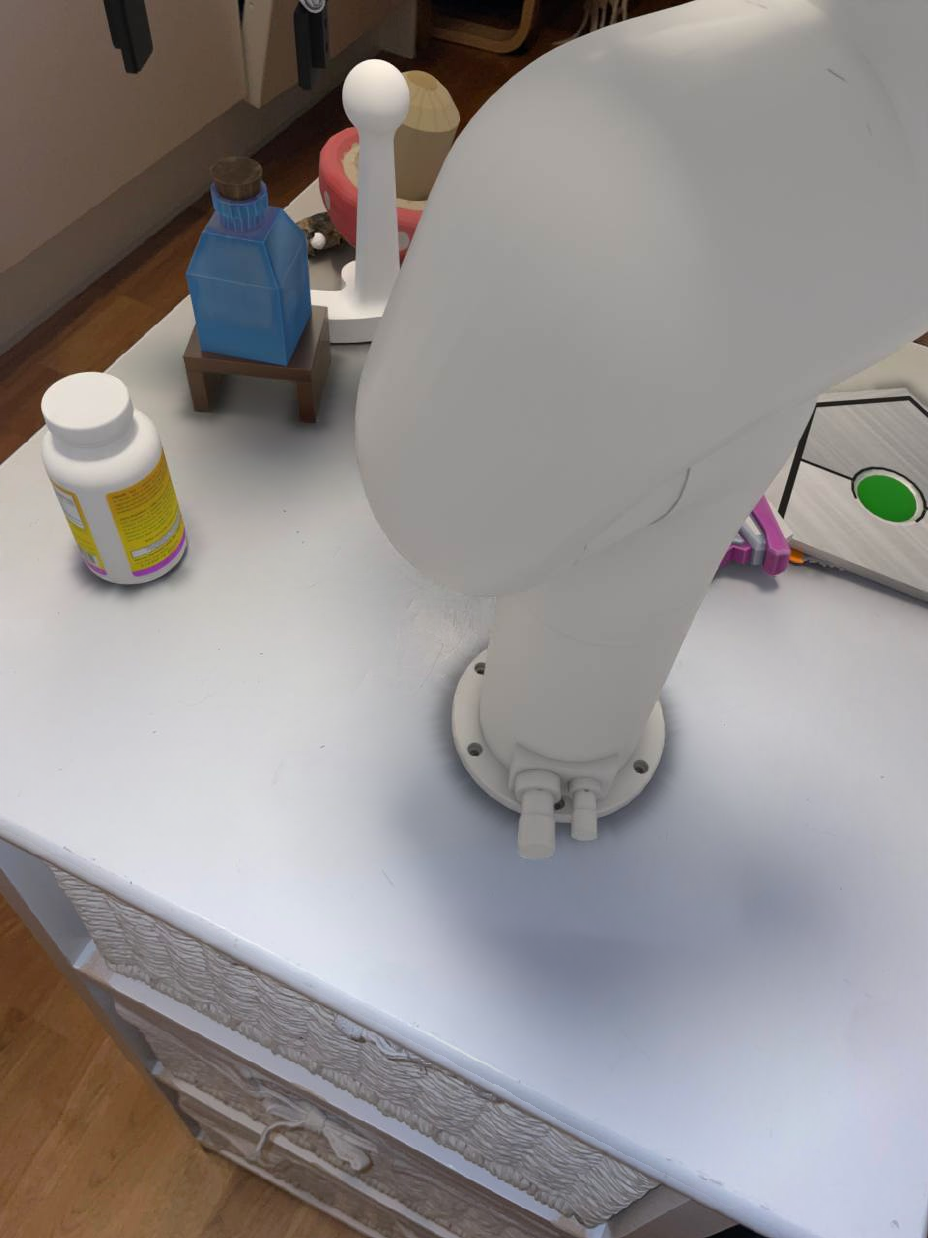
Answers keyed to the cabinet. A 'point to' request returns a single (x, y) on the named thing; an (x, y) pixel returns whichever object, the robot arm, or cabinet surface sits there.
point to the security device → (861, 487)
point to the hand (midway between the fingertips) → (225, 70)
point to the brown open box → (266, 367)
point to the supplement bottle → (111, 479)
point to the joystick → (370, 203)
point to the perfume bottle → (249, 270)
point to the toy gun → (762, 540)
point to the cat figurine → (319, 232)
